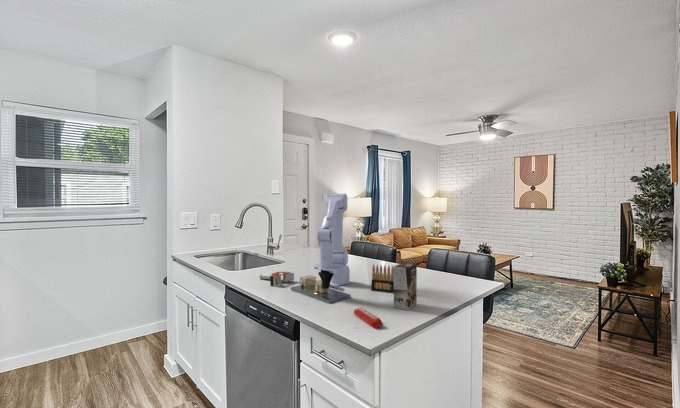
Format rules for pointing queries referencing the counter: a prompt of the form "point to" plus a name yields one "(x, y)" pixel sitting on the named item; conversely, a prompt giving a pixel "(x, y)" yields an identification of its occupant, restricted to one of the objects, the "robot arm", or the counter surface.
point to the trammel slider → (320, 287)
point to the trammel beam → (310, 281)
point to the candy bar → (368, 317)
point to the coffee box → (405, 286)
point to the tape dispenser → (278, 278)
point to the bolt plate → (322, 294)
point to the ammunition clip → (382, 279)
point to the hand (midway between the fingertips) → (326, 288)
